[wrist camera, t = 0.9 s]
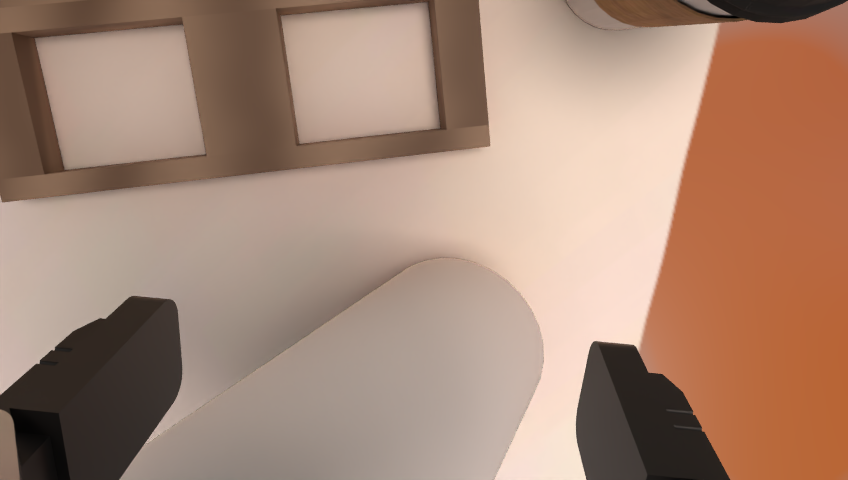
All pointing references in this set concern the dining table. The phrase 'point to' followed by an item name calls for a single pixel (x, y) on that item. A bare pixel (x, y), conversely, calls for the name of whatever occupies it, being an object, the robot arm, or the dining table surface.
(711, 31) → the dining table surface
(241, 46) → the brown wooden flat frame
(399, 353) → the alcohol
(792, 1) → the coffee cup
